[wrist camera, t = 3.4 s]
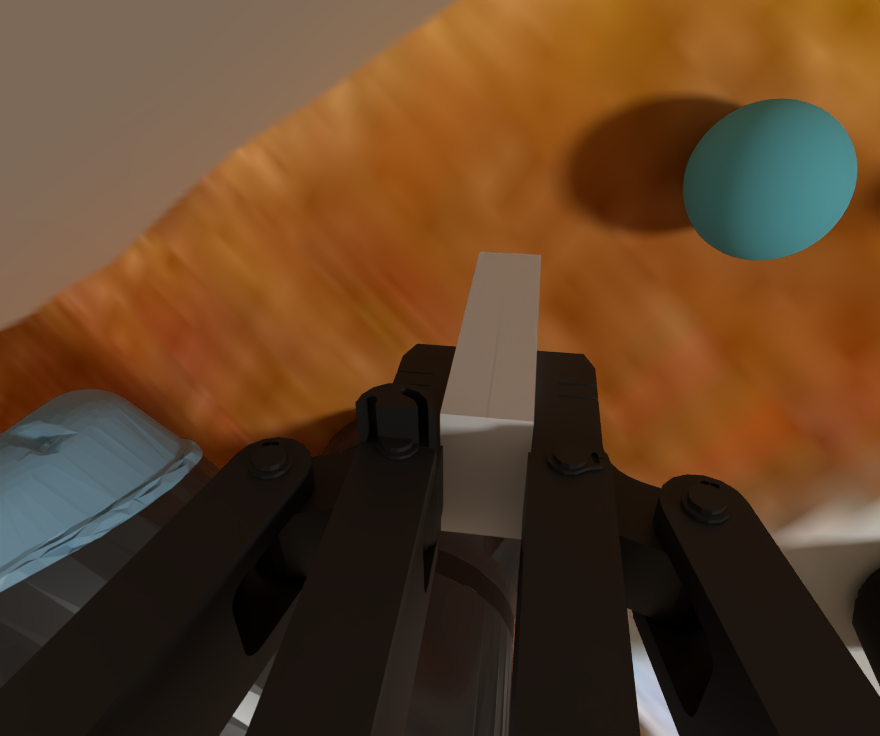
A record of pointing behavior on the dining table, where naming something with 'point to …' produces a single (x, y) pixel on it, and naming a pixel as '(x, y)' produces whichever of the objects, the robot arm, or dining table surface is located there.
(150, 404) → the dining table surface
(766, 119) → the ball
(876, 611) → the coffee jar
